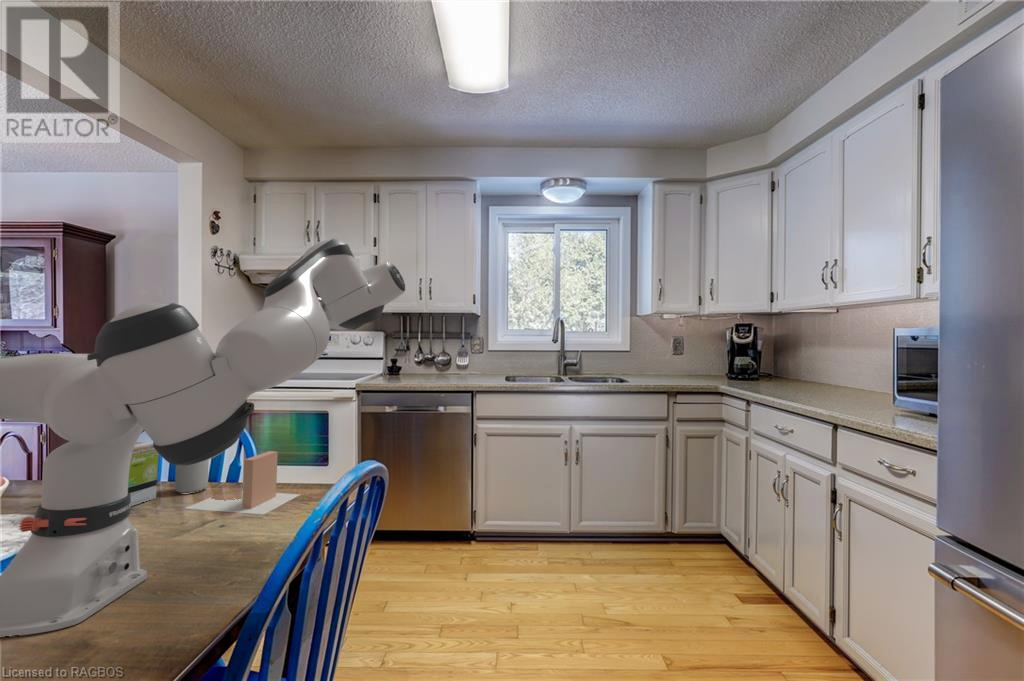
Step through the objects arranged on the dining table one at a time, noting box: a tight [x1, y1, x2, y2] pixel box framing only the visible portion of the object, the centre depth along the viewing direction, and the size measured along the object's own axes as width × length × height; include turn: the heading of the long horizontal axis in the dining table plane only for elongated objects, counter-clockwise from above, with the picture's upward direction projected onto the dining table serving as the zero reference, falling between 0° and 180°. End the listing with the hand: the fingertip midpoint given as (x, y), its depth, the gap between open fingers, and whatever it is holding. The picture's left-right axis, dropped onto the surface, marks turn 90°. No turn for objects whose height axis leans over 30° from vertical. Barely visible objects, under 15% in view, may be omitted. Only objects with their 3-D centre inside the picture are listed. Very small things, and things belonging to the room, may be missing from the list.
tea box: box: [128, 441, 160, 507], centre depth 120 cm, size 15×10×15 cm, turn 171°
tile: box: [242, 450, 279, 509], centre depth 125 cm, size 10×3×12 cm, turn 173°
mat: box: [183, 492, 301, 515], centre depth 125 cm, size 16×21×1 cm
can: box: [174, 459, 210, 494], centre depth 134 cm, size 8×8×12 cm
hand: (296, 327), depth 114 cm, fingers open, 8 cm apart
